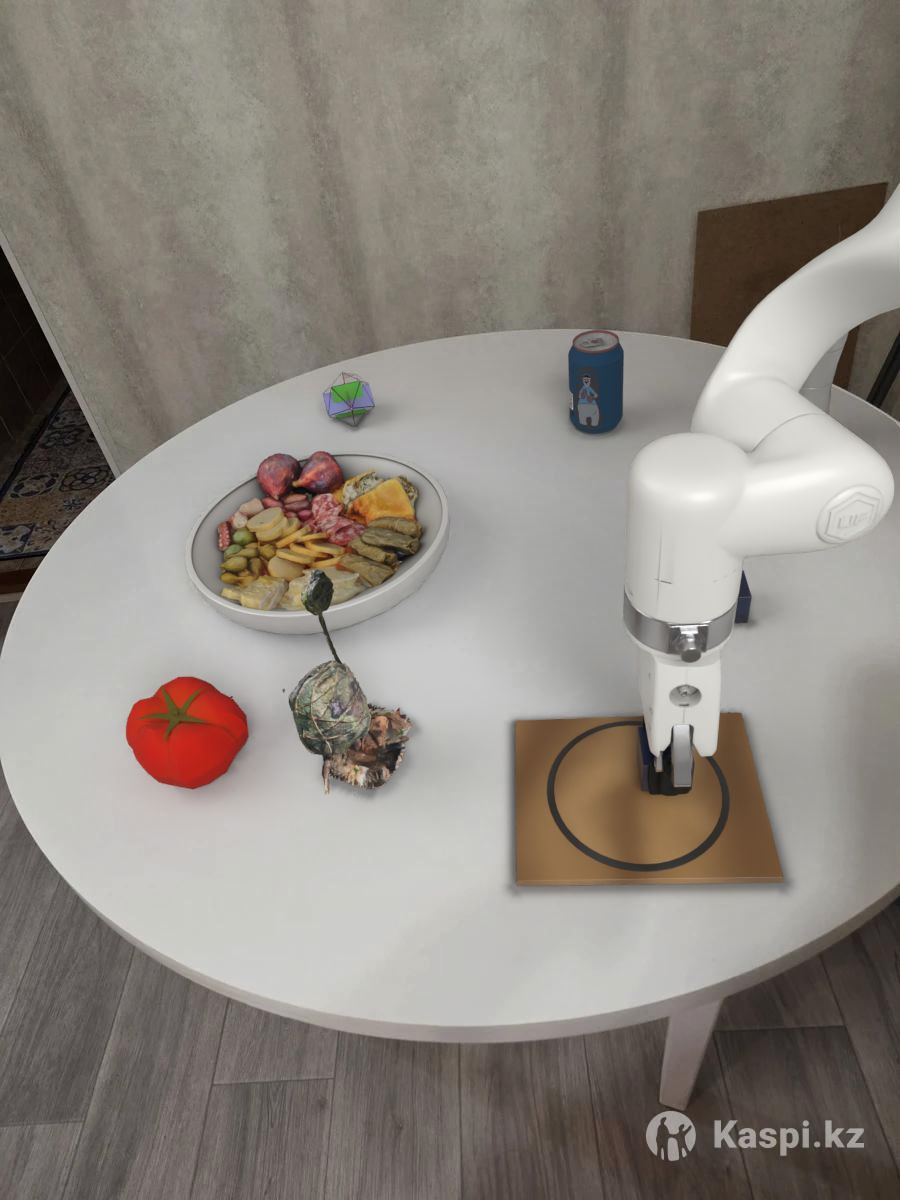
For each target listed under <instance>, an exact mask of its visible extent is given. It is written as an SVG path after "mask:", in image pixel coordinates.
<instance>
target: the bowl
mask: <svg viewBox="0 0 900 1200" xmlns="http://www.w3.org/2000/svg"><path fill="white" fill-rule="evenodd" d="M450 527H451V517H450V508H449V502H448V499H447V496H446V493H445V490H444V489H443V487H442V486H441V484H440V483H439V482H438V481H437V480H436V478H435V477H433V476H432V475H431V474H430V473H429V472H428V471H426V470H425V469H423V468H422V467H420V466H419V465H417V464H414V463H413V462H410V461H409V460H406V459H403V458H401V457H397V456H394V455H389V454H384V453H378V452H372V451H359V450H345V451H344V450H343V451H330V452H329V451H328V452H327V451H324V450H320V451H319V450H318V451H315V452H314V453H312V454H310V455H305V456H301V457H297V458H296V457H294V456H292V455H291V454H287V453H282V452H278V453H274V454H271V455H269V456H268V457H266V458H264V459H263V460H262V461H261V462H260V463H259V465H258V468H257V471H256V472H255V473H253V474H251V475H249V476H248V477H246V478H244V479H242V480H241V481H239V482H237V483H235V484H234V485H233V486H231V487H229V488H228V489H227V490H225V491H224V492H223V493H222V494H220V495H219V496H218V497H217V498H216V499H214V501H212V502H211V503H210V504H209V505H208V507H207V508H206V509H204V511H203V512H202V514H201V515H200V516H199V517H198V519H197V520H196V522H195V523H194V525H193V527H192V528H191V531H190V533H189V535H188V537H187V540H186V544H185V552H184V555H185V556H184V559H185V566H186V571H187V573H188V575H189V578H190V580H191V582H192V585H193V586H194V589H196V591H197V593H198V594H199V595H200V597H201V598H202V599H203V601H204V602H205V603H207V605H209V607H210V608H211V609H212V610H214V611H215V612H217V613H218V614H220V615H222V616H223V617H224V618H226V619H228V620H230V621H231V622H234V623H236V624H238V625H241V626H244V627H246V628H249V629H252V630H256V631H260V632H263V633H272V634H279V635H309V634H310V635H311V634H319V633H324V632H323V628H322V627H321V624H320V622H319V618H318V615H317V616H315V615H313V614H311V613H310V612H309V611H307V610H306V608H305V606H304V605H303V603H302V601H301V589H302V586H303V584H304V581H305V580H306V578H307V577H308V576H309V575H310V574H311V571H312V570H313V569H315V570H322V571H323V572H324V573H325V574H326V576H327V577H328V578H330V579H331V581H332V583H333V589H334V593H333V597H332V600H331V604H330V606H329V608H328V610H327V611H324V612H322V613H323V617H324V620H325V623H326V627H327V630H328V632H331V631H336V630H340V629H345V628H348V627H351V626H354V625H357V624H360V623H363V622H365V621H368V620H370V619H372V618H375V617H377V616H379V615H382V614H383V613H385V612H387V611H389V610H390V609H392V608H394V607H395V606H397V605H398V604H400V603H402V602H403V601H404V600H406V599H407V598H408V597H409V596H411V595H412V594H413V593H414V592H415V591H416V590H418V589H419V588H420V587H421V586H422V585H423V584H424V582H426V580H427V579H428V578H429V577H430V576H431V574H432V573H433V572H434V570H435V568H436V567H437V565H438V564H439V562H440V560H441V559H442V557H443V554H444V552H445V550H446V547H447V544H448V540H449V536H450V529H451V528H450Z"/></svg>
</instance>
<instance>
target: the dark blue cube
mask: <svg viewBox="0 0 900 1200" xmlns="http://www.w3.org/2000/svg"><path fill="white" fill-rule="evenodd" d="M663 755H671V749H665V750H664V751H663ZM652 759H654V754H653V753H652V752H651V751H650V748H649V743H648V737H647V731H646V727H638V733H637V760H638V768H639V775H640V783H641V790H642V792H646V791H649V789H648V783H649V769H650V760H652ZM694 766H695V763H694V758H693V767H692V775H691V787H690V790H692V782H693V774H694Z"/></svg>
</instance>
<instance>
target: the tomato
mask: <svg viewBox="0 0 900 1200" xmlns="http://www.w3.org/2000/svg"><path fill="white" fill-rule="evenodd" d="M248 725H249V724H248V718H247V714H246V713H245V711H244V710H243V709H242V708H241V707H240V706H239V704H238V702H236V701H235V699H234V698H232V697H231V696H229V695H226V694H225V693H223V692H221V691H220V690H219V689H218V688H216V686H214V685H213V684H212V683H211V682H209V681H206V680H204V679H201V678H198V677H196V676H177V677H175V678H173V679H171V680H170V681H168V682H165V683H163V684H161V685H160V686H159V688H158V689H157V690H156V691H155V693H154V694H153V696H150V697H148V698H142V699H138V700H137V701H136V702H135V703H133V705H132V707H131V710H130V712H129V714H128V716H127V719H126V724H125V738H126V742H127V745H128V746H129V747H130V748H131V750H132V753H133V755H134V758H135V760H136V761H137V763H138V764H139V765H140V766H141V768H142V770H144V771H145V772H146V774H148V775H149V776H150V777H151V778H153V779H154V780H155V781H156V782H158V783H161V784H163V785H168V786H173V787H178V788H183V789H189V790H196V789H198V788H201V787H205V786H207V785H210V784H212V783H213V782H215V781H216V780H217V779H219V778H220V777H222V776H223V775H224V774H226V773H228V771H229V769H230V767H231V765H232V763H233V762H234V760H235V759H236V756H237V755H238V754H239V753H240V751H241V750H242V749H243V747H244V746H245V745H246V744H247V741H248V739H249V737H250V736H249V735H250V734H249V726H248Z"/></svg>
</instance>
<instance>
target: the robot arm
mask: <svg viewBox="0 0 900 1200" xmlns="http://www.w3.org/2000/svg"><path fill="white" fill-rule="evenodd" d="M896 309H897V310H898V309H900V182H899V183H898V184H897V186H896V187H895V189H894V191H893V193H892V194H891V196H890V197H889V199H888V200H887V202H886V203H885V204H884V205H883V207H882V209H881V210H880V211H879V213H878V214H877V215H876V216H875V217H874V218H873V219H871V221H870V222H869V223H868V224H866V225H864V227H863V228H861V229H860V230H858V231H857V232H855V233H853V234H852V235H850V236H848V237H847V238H845V239H843V240H841V241H839V242H838V243H836V244H834V245H832V246H831V247H830V248H828V249H826V250H825V251H823V252H822V253H820V254H819V255H817V256H816V257H814V258H812V260H810V261H809V262H807V263H806V264H805V265H804V266H802V267H801V268H800V269H798V270H797V271H796V272H794V273H793V274H792V275H790V276H789V277H788V278H787V279H786V280H784V281H783V282H781V283H780V284H779V285H778V286H777V287H775V288H774V289H773V290H772V291H770V292H769V293H768V294H767V295H765V297H764V298H763V299H761V301H760V302H759V303H758V304H757V305H756V306H755V307H754V308H753V309H752V310H751V312H750V313H749V314H748V316H746V318H745V319H744V320H743V322H742V323H741V324H740V326H739V327H738V329H737V330H736V332H735V334H734V335H733V337H732V339H731V340H730V342H729V344H728V346H727V347H726V349H725V350H724V352H723V354H722V355H721V357H720V359H719V361H718V362H717V363H716V365H715V367H714V369H713V371H712V372H711V374H710V376H709V377H708V379H707V381H706V383H705V384H704V387H703V389H702V391H701V393H700V396H699V398H698V401H697V402H696V405H695V407H694V410H693V414H692V418H691V421H690V432H689V431H686V432H685V431H684V432H677V433H672V434H666V435H664V436H660V437H659V438H657V439H654V440H653V441H650V442H649V443H647V444H646V445H644V446H643V447H642V448H641V449H640V450H639V451H638V452H637V454H636V455H635V456H634V457H633V459H632V461H631V464H630V466H629V469H628V474H627V482H626V513H625V517H626V518H625V540H624V541H625V547H624V573H623V574H624V577H623V578H624V580H623V582H624V583H623V607H622V609H623V610H622V611H623V612H622V624H623V629H624V631H625V633H626V635H627V637H628V638H629V639H630V641H631V642H632V643H634V645H636V664H637V666H636V667H637V677H638V679H637V680H638V688H639V695H640V701H641V709H642V716H643V723H642V727H646V731H647V737H648V743H649V748H650V751H651V752H652V753H653V754H654V759H652V760H650V769H649V783H648V789H649V793H650V794H651V795H664V796H676V795H679V794H687V793H689V791H690V787H691V775H692V767H693V748H694V746H695V748H696V749H697V751H698V753H699V755H700V756H701V757H705V756H712V755H713V754H714V753H715V751H716V749H717V740H718V728H719V716H720V713H721V703H722V701H721V699H722V649H723V648H724V646H726V644H727V643H728V642H729V641H730V640H731V637H732V636H733V632H734V629H735V623H734V621H735V615H736V608H737V601H738V595H739V589H740V582H741V576H742V570H743V568H744V561H745V560H746V559H747V558H753V557H754V558H755V557H767V556H779V555H780V556H781V555H782V556H783V555H795V554H807V553H808V554H809V553H817V552H823V551H827V550H831V549H836V548H839V547H842V546H845V545H848V544H850V543H852V542H854V541H857V540H859V539H860V538H862V537H864V536H865V535H867V534H868V533H869V532H871V531H872V530H873V529H874V528H875V527H877V526H878V525H879V524H880V522H882V520H883V519H884V518H885V516H887V514H888V512H889V510H890V508H891V506H892V503H893V502H894V501H893V500H894V497H895V479H894V475H893V472H892V470H891V468H890V466H889V464H888V463H887V462H886V460H885V459H884V457H883V456H881V454H880V453H879V452H878V451H876V450H875V449H874V448H873V447H872V446H871V445H870V444H869V443H867V441H865V440H863V439H862V438H860V437H859V436H858V435H856V433H853V432H852V431H851V430H850V429H848V428H847V427H846V426H844V425H843V424H841V423H840V422H838V421H837V420H836V419H835V418H833V417H832V416H831V415H830V416H829V415H828V414H827V413H825V412H824V411H822V410H821V409H820V408H818V407H817V406H815V405H814V404H813V403H811V402H810V401H809V400H807V399H806V398H805V397H803V396H802V395H801V394H799V393H798V392H799V390H800V389H801V387H802V386H803V384H804V383H805V381H806V379H807V378H808V376H809V375H810V373H811V372H812V370H813V369H814V367H815V366H816V364H817V363H818V362H819V361H820V359H821V358H822V357H823V356H824V354H825V353H826V352H827V351H828V350H829V349H830V348H831V347H832V346H833V345H834V344H835V343H836V341H837V340H839V339H840V338H841V337H842V336H844V335H845V334H846V333H847V332H848V333H849V332H850V331H852V330H853V329H854V328H856V327H857V326H859V325H861V324H862V323H864V322H866V321H868V320H870V319H873V318H874V317H876V316H879V315H881V314H884V313H887V312H890V311H893V310H896ZM665 749H671V755H663V751H664V750H665Z"/></svg>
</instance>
